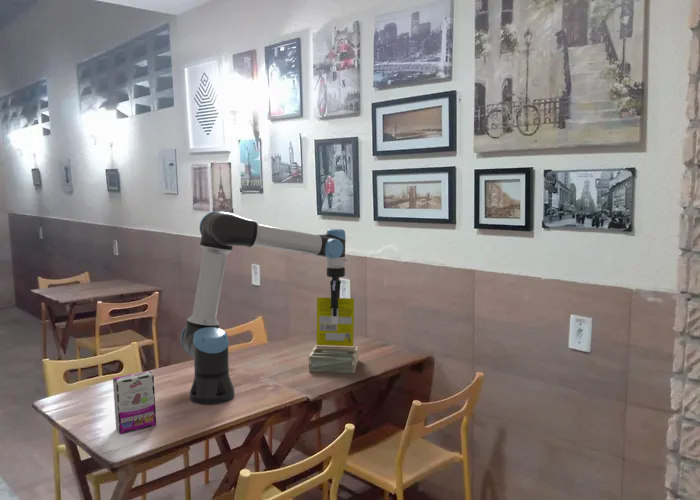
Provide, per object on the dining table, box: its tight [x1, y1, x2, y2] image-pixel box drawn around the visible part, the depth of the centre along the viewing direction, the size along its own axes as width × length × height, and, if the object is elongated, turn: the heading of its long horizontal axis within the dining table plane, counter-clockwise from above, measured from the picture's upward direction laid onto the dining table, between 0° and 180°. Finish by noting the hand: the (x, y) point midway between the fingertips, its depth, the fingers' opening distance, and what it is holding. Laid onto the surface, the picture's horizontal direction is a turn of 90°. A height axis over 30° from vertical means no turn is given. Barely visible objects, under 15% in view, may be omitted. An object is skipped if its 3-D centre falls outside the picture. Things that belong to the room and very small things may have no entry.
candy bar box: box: [112, 370, 157, 435], centre depth 180 cm, size 11×5×16 cm, turn 126°
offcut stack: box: [322, 349, 348, 354], centre depth 240 cm, size 5×12×6 cm, turn 84°
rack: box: [308, 344, 359, 374], centre depth 240 cm, size 16×18×6 cm
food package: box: [316, 297, 355, 346], centre depth 243 cm, size 15×1×20 cm, turn 85°
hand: (335, 323), depth 243 cm, fingers closed on food package
